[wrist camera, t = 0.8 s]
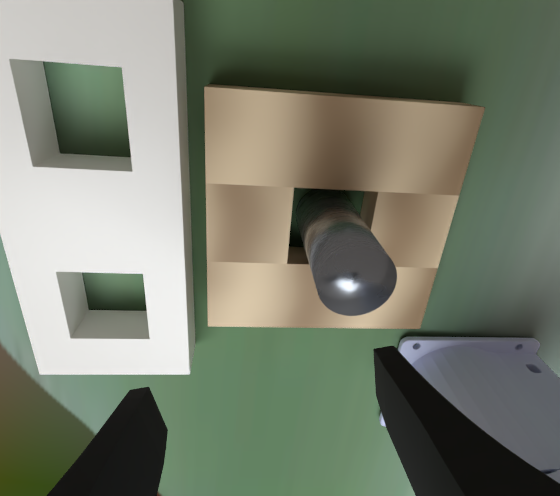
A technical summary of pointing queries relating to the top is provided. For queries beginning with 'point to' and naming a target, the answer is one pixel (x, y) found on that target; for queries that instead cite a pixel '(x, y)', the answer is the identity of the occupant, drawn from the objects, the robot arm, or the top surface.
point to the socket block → (326, 175)
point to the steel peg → (344, 254)
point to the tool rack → (98, 187)
